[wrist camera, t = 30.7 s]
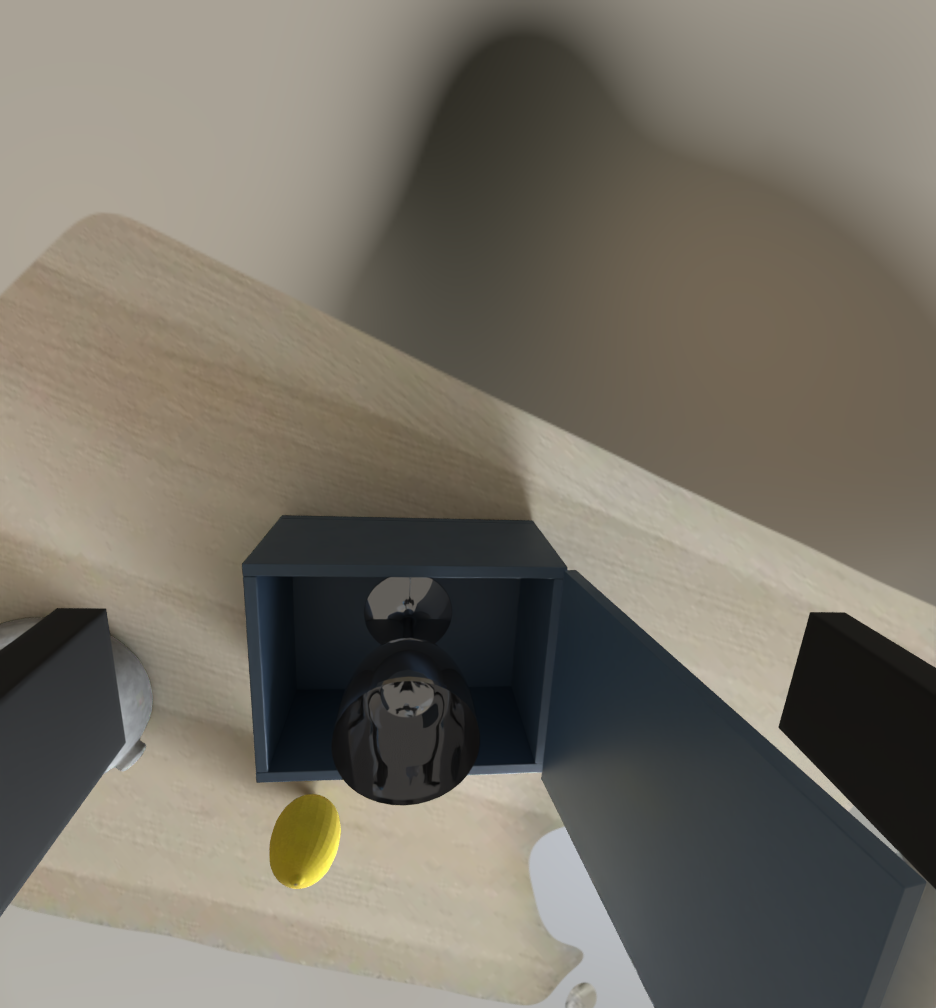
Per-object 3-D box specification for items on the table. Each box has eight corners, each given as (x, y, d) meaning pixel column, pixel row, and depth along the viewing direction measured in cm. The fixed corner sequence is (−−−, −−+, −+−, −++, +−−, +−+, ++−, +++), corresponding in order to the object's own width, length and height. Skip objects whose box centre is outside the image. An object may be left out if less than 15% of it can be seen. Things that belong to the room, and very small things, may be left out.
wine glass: (359, 566, 41) (330, 680, 26) (460, 569, 41) (486, 680, 27) (357, 656, 43) (330, 807, 28) (454, 657, 44) (474, 803, 29)
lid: (773, 1250, 17) (941, 1174, 19) (904, 887, 13) (1103, 835, 15) (541, 778, 36) (636, 763, 38) (564, 570, 32) (670, 564, 34)
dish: (-58, 617, 39) (-124, 653, 34) (133, 594, 40) (96, 626, 35) (6, 773, 43) (-45, 825, 38) (178, 749, 44) (150, 796, 39)
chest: (289, 691, 44) (256, 783, 34) (282, 515, 40) (241, 563, 30) (517, 688, 46) (544, 772, 37) (532, 520, 42) (567, 567, 32)
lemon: (276, 816, 47) (249, 906, 39) (292, 767, 46) (268, 850, 38) (336, 828, 48) (321, 917, 40) (353, 780, 47) (341, 863, 39)
